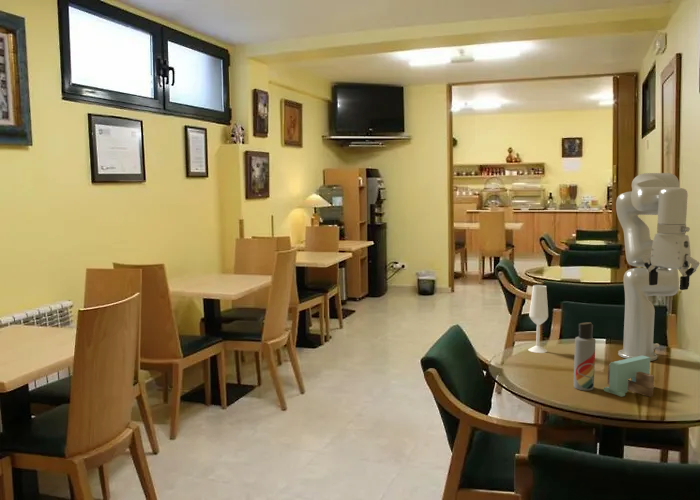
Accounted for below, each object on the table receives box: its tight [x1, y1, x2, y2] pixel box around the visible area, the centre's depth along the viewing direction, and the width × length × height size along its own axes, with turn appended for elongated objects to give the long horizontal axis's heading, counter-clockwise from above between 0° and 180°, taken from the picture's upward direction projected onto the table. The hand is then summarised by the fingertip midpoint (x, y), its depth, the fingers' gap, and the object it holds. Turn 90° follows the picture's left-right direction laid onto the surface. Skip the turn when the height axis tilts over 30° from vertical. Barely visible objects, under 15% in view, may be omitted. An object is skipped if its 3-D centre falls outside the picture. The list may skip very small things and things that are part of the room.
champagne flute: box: [527, 284, 549, 354], centre depth 227 cm, size 7×7×24 cm
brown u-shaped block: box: [607, 363, 655, 397], centre depth 184 cm, size 14×2×6 cm, turn 30°
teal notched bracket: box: [603, 355, 655, 397], centre depth 184 cm, size 15×6×9 cm, turn 120°
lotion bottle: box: [573, 321, 597, 392], centre depth 185 cm, size 6×6×20 cm
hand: (668, 287), depth 185 cm, fingers open, 9 cm apart
